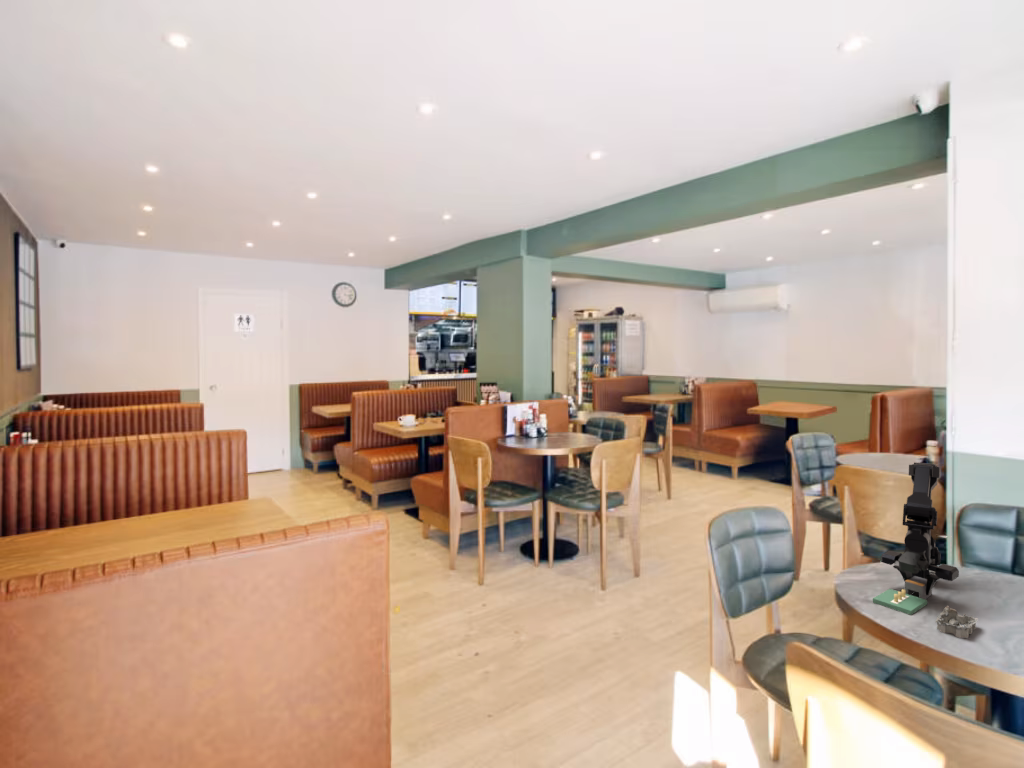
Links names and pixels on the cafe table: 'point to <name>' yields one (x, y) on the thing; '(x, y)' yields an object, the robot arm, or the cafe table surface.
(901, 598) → the board
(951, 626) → the egg carton
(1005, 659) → the cafe table surface
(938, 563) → the robot arm
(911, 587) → the plug housing
